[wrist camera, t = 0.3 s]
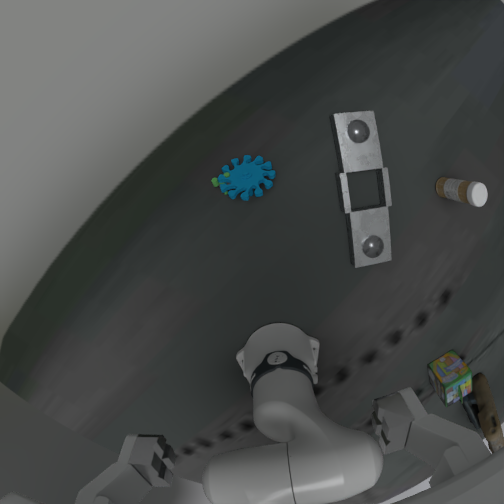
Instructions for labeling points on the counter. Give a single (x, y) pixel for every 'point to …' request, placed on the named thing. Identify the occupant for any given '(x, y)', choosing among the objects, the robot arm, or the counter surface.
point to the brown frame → (484, 412)
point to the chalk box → (450, 378)
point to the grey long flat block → (359, 219)
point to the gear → (245, 177)
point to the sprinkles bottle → (462, 191)
